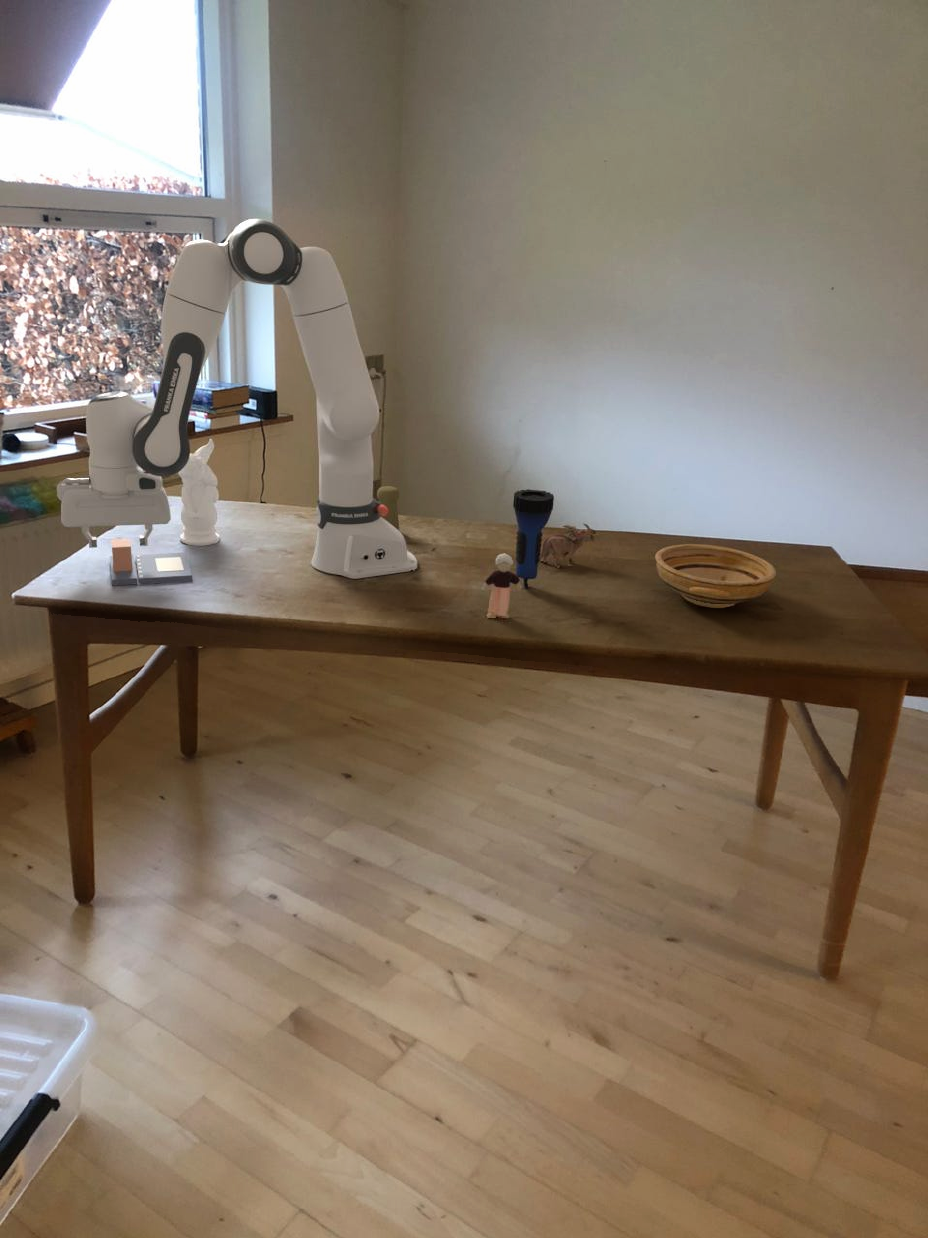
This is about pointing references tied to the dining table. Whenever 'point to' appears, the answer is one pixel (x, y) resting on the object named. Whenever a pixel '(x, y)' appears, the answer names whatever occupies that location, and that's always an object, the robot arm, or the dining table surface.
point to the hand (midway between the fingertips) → (118, 545)
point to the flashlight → (530, 529)
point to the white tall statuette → (199, 499)
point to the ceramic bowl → (714, 573)
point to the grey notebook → (163, 568)
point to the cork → (389, 504)
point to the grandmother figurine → (501, 587)
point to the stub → (122, 563)
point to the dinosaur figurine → (566, 544)
